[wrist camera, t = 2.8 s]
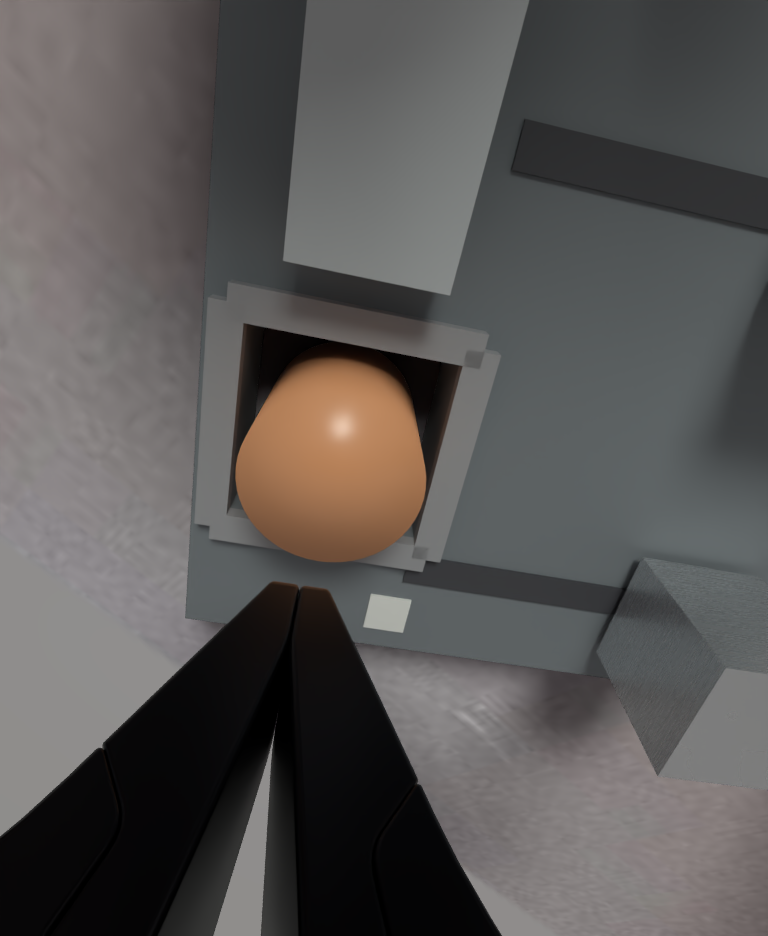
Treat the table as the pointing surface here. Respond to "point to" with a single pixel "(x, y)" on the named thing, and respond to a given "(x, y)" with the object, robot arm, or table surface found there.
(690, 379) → the panel
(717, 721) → the grey slider
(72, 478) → the table surface
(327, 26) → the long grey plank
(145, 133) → the table surface
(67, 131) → the table surface
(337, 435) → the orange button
